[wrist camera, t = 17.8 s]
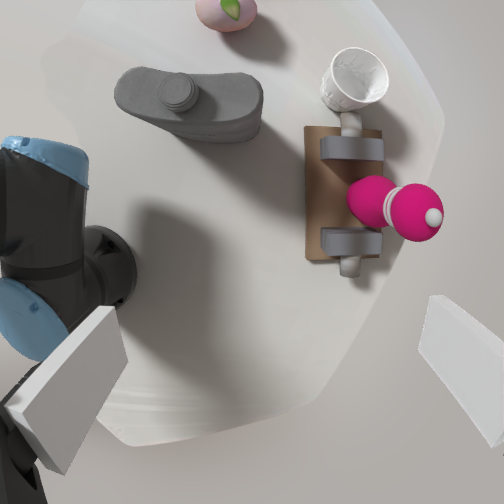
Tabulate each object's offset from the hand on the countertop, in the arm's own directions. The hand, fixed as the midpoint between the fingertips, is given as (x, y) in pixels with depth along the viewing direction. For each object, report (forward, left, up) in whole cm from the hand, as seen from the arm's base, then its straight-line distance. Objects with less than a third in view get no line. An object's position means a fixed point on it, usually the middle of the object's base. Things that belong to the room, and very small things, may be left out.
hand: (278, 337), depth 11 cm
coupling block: (+13, +3, -35) cm, 37 cm away
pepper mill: (+16, +2, -33) cm, 37 cm away
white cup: (+13, +19, -35) cm, 42 cm away
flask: (-7, +14, -35) cm, 38 cm away
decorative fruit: (-4, +32, -35) cm, 48 cm away
